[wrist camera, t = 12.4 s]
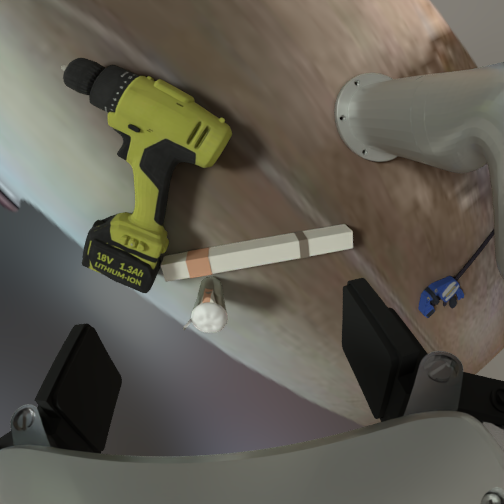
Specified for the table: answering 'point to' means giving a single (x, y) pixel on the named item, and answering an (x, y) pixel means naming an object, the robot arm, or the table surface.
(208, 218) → the table surface
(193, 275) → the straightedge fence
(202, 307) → the milkshake
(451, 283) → the bar clamp
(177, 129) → the cordless drill
